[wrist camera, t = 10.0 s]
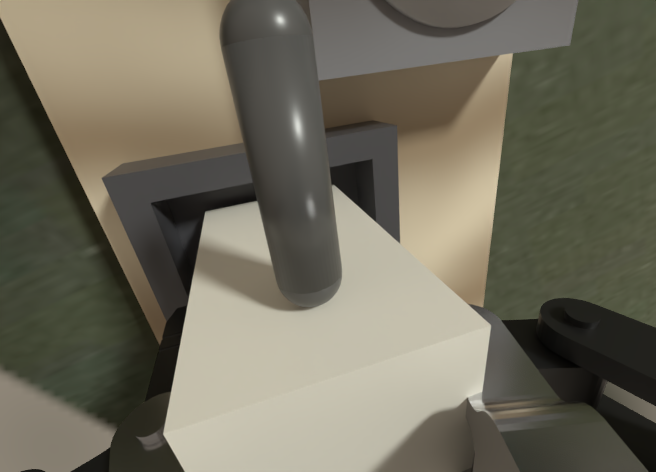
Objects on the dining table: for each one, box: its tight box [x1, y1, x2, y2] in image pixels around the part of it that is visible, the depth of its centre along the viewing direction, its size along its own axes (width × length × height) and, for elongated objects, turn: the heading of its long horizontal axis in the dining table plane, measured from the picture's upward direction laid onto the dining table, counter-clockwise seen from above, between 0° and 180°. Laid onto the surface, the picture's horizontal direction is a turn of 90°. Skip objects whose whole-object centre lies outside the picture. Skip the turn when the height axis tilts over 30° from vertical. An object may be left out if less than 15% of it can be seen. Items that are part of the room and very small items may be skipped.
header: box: [102, 120, 400, 322], centre depth 11 cm, size 8×8×2 cm
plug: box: [163, 0, 491, 472], centre depth 7 cm, size 10×4×7 cm, turn 8°
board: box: [0, 0, 578, 345], centre depth 10 cm, size 20×14×4 cm
